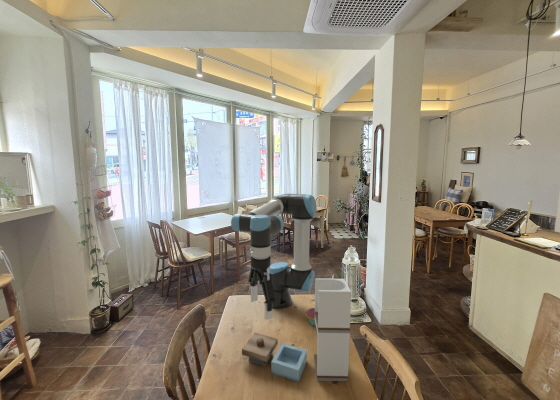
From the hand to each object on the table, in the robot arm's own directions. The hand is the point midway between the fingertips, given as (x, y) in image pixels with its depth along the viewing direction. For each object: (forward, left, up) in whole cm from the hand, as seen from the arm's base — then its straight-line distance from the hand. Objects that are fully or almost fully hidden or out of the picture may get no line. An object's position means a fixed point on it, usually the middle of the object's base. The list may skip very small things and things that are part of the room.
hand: (260, 309), depth 96 cm
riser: (-4, -2, -24) cm, 24 cm away
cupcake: (-36, +13, -24) cm, 45 cm away
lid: (-4, -2, -20) cm, 21 cm away
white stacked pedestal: (-9, +26, -24) cm, 36 cm away
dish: (-4, +11, -24) cm, 27 cm away
